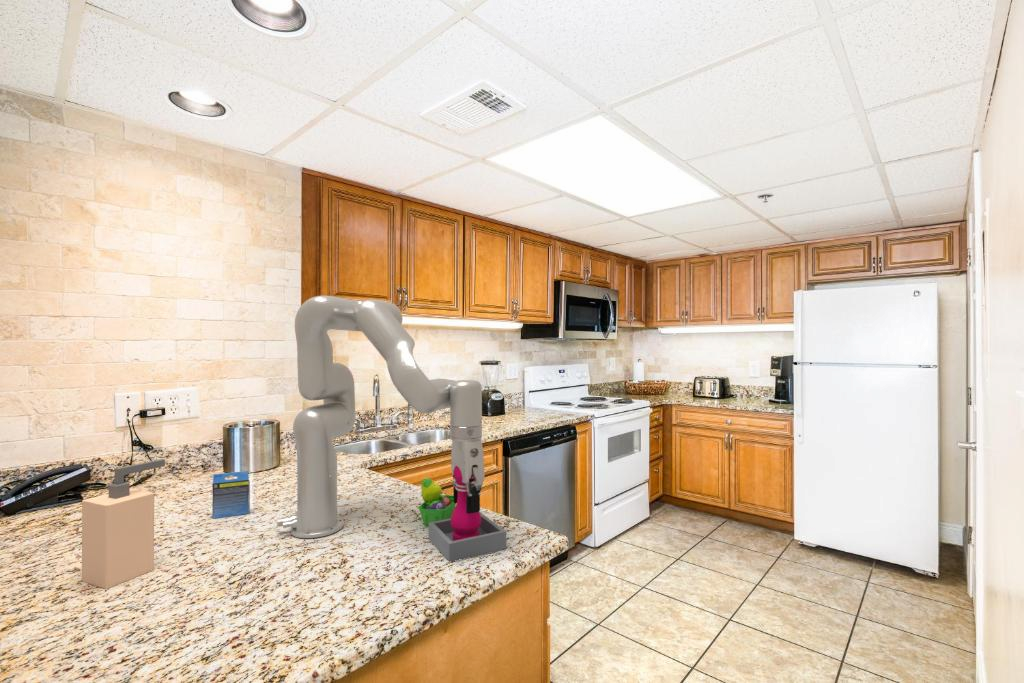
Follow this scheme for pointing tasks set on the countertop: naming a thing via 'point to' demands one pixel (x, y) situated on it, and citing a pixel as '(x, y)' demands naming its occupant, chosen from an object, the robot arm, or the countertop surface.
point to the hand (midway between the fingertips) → (466, 506)
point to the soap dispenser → (118, 531)
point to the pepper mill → (463, 511)
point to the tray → (467, 539)
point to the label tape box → (230, 494)
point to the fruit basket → (435, 503)
